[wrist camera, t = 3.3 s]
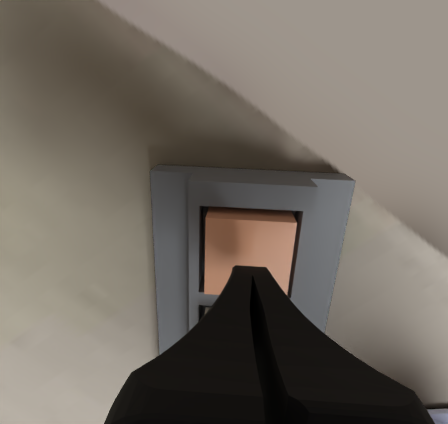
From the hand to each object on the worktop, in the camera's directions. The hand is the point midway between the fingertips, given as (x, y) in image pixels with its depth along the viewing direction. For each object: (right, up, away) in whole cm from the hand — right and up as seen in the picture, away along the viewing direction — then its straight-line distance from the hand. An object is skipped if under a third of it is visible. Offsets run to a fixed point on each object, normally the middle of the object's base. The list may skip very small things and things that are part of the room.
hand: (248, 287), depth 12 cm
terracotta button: (0, +1, +3) cm, 4 cm away
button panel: (0, -3, +7) cm, 8 cm away
